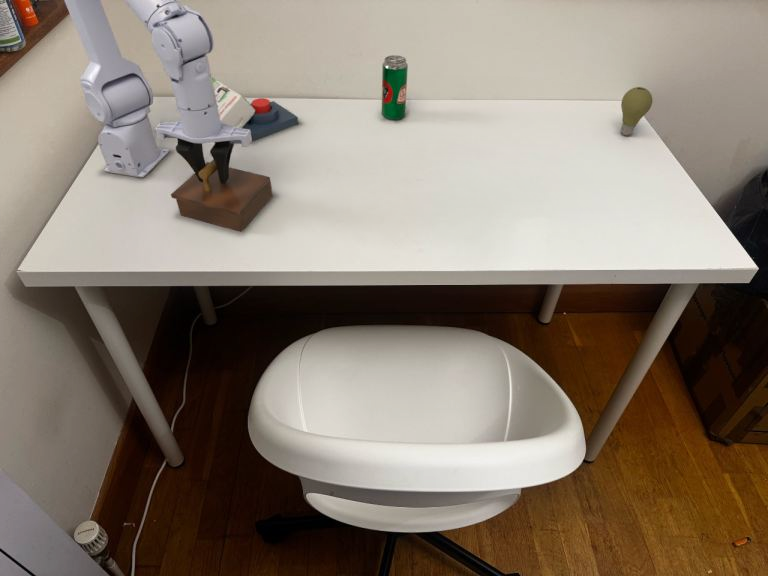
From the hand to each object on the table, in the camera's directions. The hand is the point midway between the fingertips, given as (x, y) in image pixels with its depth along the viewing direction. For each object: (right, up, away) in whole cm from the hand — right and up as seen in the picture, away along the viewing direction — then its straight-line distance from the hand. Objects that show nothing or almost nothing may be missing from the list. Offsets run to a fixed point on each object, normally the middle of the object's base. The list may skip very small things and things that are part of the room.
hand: (214, 179), depth 93 cm
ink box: (-9, +21, +22) cm, 32 cm away
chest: (+1, -4, +3) cm, 5 cm away
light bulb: (+78, +13, +23) cm, 82 cm away
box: (+3, +16, +23) cm, 28 cm away
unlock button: (+3, +18, +21) cm, 28 cm away
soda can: (+30, +19, +27) cm, 45 cm away
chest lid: (+1, -1, +1) cm, 2 cm away
